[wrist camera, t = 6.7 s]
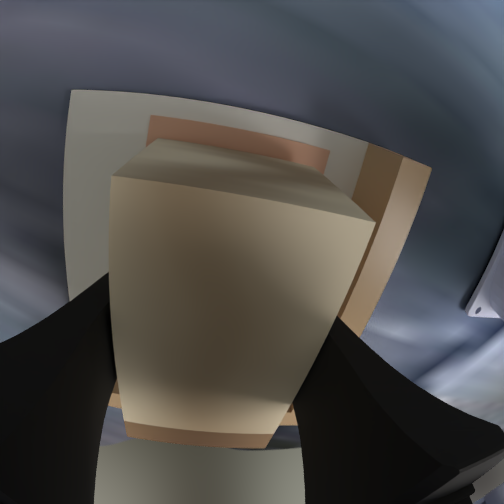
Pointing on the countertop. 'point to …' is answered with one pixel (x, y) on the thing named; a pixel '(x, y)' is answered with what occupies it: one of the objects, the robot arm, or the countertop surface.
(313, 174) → the maple block
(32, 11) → the countertop surface
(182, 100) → the arena
